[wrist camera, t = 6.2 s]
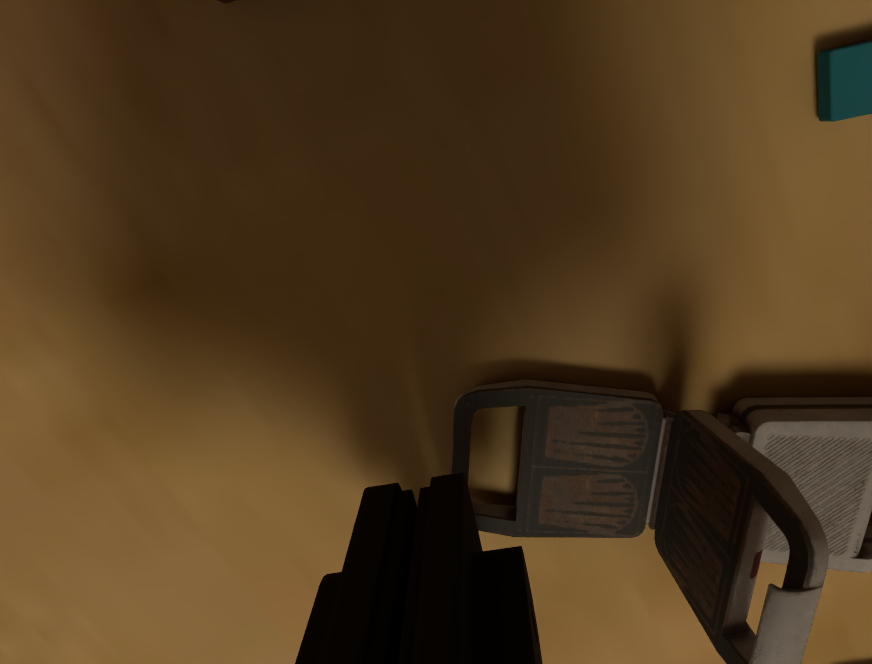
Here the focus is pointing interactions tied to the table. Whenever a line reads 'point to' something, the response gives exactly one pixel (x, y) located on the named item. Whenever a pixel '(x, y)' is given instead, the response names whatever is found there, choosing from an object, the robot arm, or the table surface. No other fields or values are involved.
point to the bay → (845, 81)
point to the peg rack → (226, 1)
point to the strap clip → (696, 494)
